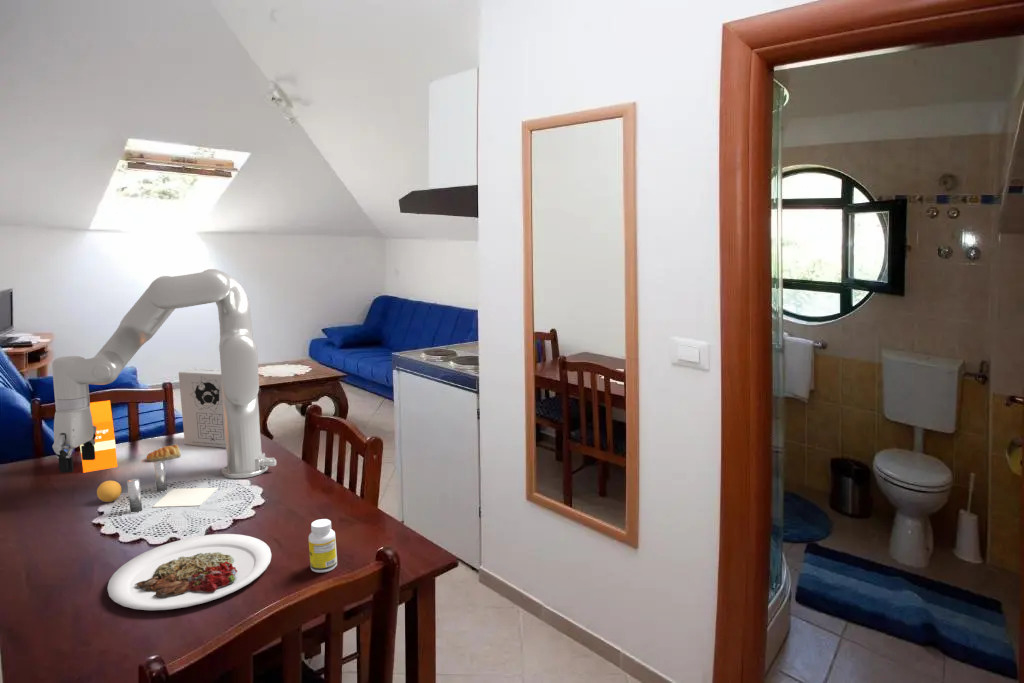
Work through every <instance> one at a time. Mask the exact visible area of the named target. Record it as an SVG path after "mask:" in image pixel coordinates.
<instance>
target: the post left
mask: <svg viewBox="0 0 1024 683" xmlns="http://www.w3.org/2000/svg"><path fill="white" fill-rule="evenodd" d="M126 483H127V490H128V491H127V493H128V500H129V501H128V502H129V511H131V512H137V513H139V511H140V512H142V511H143V503H142V495H141V483H140V479H139V478H132V479H129V480H127V482H126ZM131 512H130V513H131Z"/></svg>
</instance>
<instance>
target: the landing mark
mask: <svg viewBox="0 0 1024 683" xmlns="http://www.w3.org/2000/svg"><path fill="white" fill-rule="evenodd" d="M218 489H219V487H194V488H193V487H191V488H172V489H171V490H170V491H169V492H167V493H166V494H165V495H164V496H163V497H162V498H161V499H160V500H158V501H157V502H156V503H154V505H152V506H151V508H178V507H185V508H187V507H201V506H202V505H203V504H204V503H205V502H206V501H207V500H208V499H209V498H210V497H211V496H212V495H213V494H214V493H215V492H216V491H218ZM204 501H205V502H204ZM203 502H204V503H203ZM202 503H203V504H202ZM201 504H202V505H201ZM200 505H201V506H200Z"/></svg>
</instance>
